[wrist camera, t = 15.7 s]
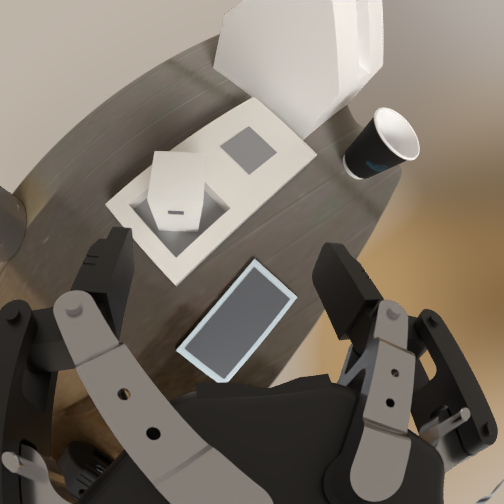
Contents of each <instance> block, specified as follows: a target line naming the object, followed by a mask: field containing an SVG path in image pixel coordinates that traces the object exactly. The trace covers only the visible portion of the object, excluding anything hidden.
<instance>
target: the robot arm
mask: <svg viewBox="0 0 504 504" xmlns="http://www.w3.org/2000/svg"><path fill="white" fill-rule="evenodd" d="M25 230H26V212H25V208H24V206H23V204H22V202H21V201H20V200H19V199H17V198H16V197H15V196H14V195H13V194H11V193H10V192H8V191H6V190H5V189H4V188H2V187H1V186H0V262H2V261H6V260H8V259H10V258H11V257H12V256H13V255H14V254H15V253H16V252H17V250H18V249H19V247H20V245H21V243H22V241H23V238H24V234H25ZM133 273H134V252H133V236H132V229H131V228H125V227H113V228H112V229H111V231H110V233H109V235H108V237H107V239H99V240H98V241H97V242H95V243H94V244H93V245H92V246H91V247H90V249H89V251H88V253H87V255H86V257H85V259H84V261H83V265H82V266H81V268H80V270H79V272H78V274H77V276H76V279H75V281H74V283H73V285H72V288H71V290H70V292H67V293H65V294H63V295H62V296H60V297H59V298H58V299H57V301H56V302H55V305H54V307H51V308H46V309H40V310H34V311H32V310H31V308H30V306H29V304H28V303H27V302H25V301H23V300H13V301H11V302H9V303H7V304H6V305H5V306H3V308H2V309H1V310H0V504H444V500H443V486H444V475H445V473H446V472H447V471H449V470H450V469H452V468H453V467H454V466H456V465H457V464H459V463H461V462H463V461H465V460H467V459H469V458H471V457H473V456H474V455H476V454H477V453H478V452H480V451H482V450H483V449H485V448H487V447H488V446H490V445H492V444H493V443H494V442H495V441H496V438H497V433H498V430H497V424H496V422H495V419H494V417H493V414H492V412H491V410H490V407H489V405H488V403H487V401H486V398H485V396H484V394H483V392H482V390H481V388H480V385H479V384H478V381H477V380H476V377H475V375H474V373H473V372H472V370H471V368H470V366H469V364H468V362H467V360H466V359H465V357H464V355H463V353H462V352H461V350H460V348H459V346H458V344H457V343H456V341H455V339H454V338H453V336H452V334H451V333H450V331H449V330H448V328H447V326H446V325H445V323H444V321H443V320H442V318H441V317H440V316H439V315H438V314H437V313H435V312H434V311H432V310H429V309H424V310H423V311H422V312H421V313H420V315H419V316H418V317H417V318H416V317H412V316H408V315H407V313H406V311H405V310H404V309H403V307H402V306H400V305H399V304H398V303H396V302H394V301H391V300H384V299H383V297H382V296H381V294H380V293H379V291H378V289H377V288H376V286H375V285H374V284H373V282H372V281H371V279H369V276H368V274H367V273H366V272H365V270H364V269H363V267H362V266H361V264H360V263H359V262H358V261H357V260H356V259H354V258H353V257H352V256H351V255H350V254H349V252H348V251H347V249H346V248H345V247H344V245H343V244H338V243H325V244H324V245H323V247H322V250H321V252H320V255H319V257H318V260H317V262H316V264H315V267H314V269H313V273H312V280H313V284H314V286H315V288H316V290H317V293H318V295H319V297H320V299H321V301H322V303H323V306H324V308H325V310H326V312H327V314H328V316H329V319H330V321H331V323H332V325H333V328H334V330H335V332H336V334H337V337H338V339H339V340H346V339H350V340H351V342H352V344H351V346H350V347H349V350H348V353H347V356H346V360H345V363H344V366H343V369H342V372H341V375H340V378H339V380H338V382H337V384H336V383H331V381H330V378H329V376H328V374H323V375H316V376H308V377H300V378H297V379H294V380H292V381H289V382H286V383H283V384H281V385H278V386H275V387H272V388H262V387H255V386H249V385H244V384H238V383H233V382H220V383H199V382H196V391H195V392H191V393H187V394H184V395H182V396H179V397H177V398H175V399H173V400H171V401H170V402H168V401H167V400H166V398H165V397H164V396H163V395H162V393H161V392H160V391H159V390H158V389H157V387H156V386H155V385H154V383H153V382H152V381H151V380H150V378H149V377H148V376H147V374H146V373H145V372H144V370H143V369H142V368H141V366H140V365H139V364H138V362H137V361H136V359H135V358H134V357H133V355H132V354H131V352H130V351H129V349H128V348H127V347H126V345H125V344H124V343H119V342H118V341H119V338H120V333H121V327H122V322H123V317H124V312H125V308H126V303H127V299H128V294H129V290H130V286H131V282H132V278H133ZM427 349H428V351H429V353H430V355H431V357H432V359H433V361H434V363H435V365H436V368H437V372H436V375H435V376H434V378H433V379H431V380H429V378H428V376H427V374H426V372H425V370H424V368H423V366H422V364H421V362H420V360H419V358H420V357H421V356H422V355H423V354H424V353H425V352H426V350H427ZM74 368H76V370H77V372H78V374H79V376H80V378H81V380H82V382H83V384H84V386H85V388H86V389H87V391H88V393H89V395H90V397H91V398H92V400H93V402H94V404H95V405H96V407H97V409H98V410H99V412H100V414H101V415H102V417H103V418H104V420H105V421H106V423H107V425H108V426H109V428H110V429H111V431H112V432H113V433H114V435H115V436H116V438H117V439H118V441H119V442H120V443H121V445H122V446H123V448H124V450H123V451H122V452H121V453H120V454H119V456H118V457H117V458H116V459H115V460H114V461H113V462H112V463H111V464H110V465H109V467H108V468H107V469H106V470H105V471H104V472H103V473H102V474H101V475H100V476H99V477H98V478H97V479H96V480H95V482H94V483H93V484H92V485H91V486H90V487H89V488H88V489H87V490H86V491H85V492H84V493H83V494H82V495H81V496H80V498H79V499H78V501H77V500H76V499H75V498H74V497H73V496H72V495H71V494H70V492H69V491H68V489H67V487H66V484H65V480H64V476H63V473H62V471H61V469H60V467H59V466H58V465H57V463H56V462H55V461H54V460H52V459H51V458H50V437H51V422H52V412H53V403H54V395H55V388H56V381H57V375H58V371H60V370H67V369H74ZM410 411H411V414H412V417H413V419H414V422H415V425H416V427H417V430H418V433H419V436H418V435H416V434H415V433H413V432H412V431H411V430H409V429H408V423H409V417H410Z"/></svg>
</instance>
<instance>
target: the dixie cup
mask: <svg viewBox="0 0 504 504" xmlns="http://www.w3.org/2000/svg"><path fill="white" fill-rule="evenodd" d="M419 151H420V147H419V141H418V138H417V136H416V134H415V132H414V130H413V128H412V127H411V125H410V124H409V123H408V122H407V121H406V119H405V118H403V117H402V116H401V115H400V114H399V113H397V112H396V111H394V110H392V109H389V108H379V109H377V110H376V112H375V114H374V117H373V118H372V120H371V121H370V122H369V123H368V125H367V126H366V127H365V128H364V130H363V131H362V132H361V133H360V134H359V136H358V137H357V138H356V139H355V141H354V142H353V143H352V144H351V146H350V147H349V148H348V149H347V150H346V152H345V155H344V157H343V165H344V168H345V170H346V171H347V173H348V174H349V175H350V176H352V177H353V178H355V179H366V178H369V177H371V176H373V175H376V174H378V173H380V172H382V171H384V170H387V169H389V168H391V167H393V166H396V165H398V164H400V163H402V162H404V161H407V160H414V159H415V158H417V156H418V155H419Z"/></svg>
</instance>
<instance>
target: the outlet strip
mask: <svg viewBox="0 0 504 504" xmlns="http://www.w3.org/2000/svg"><path fill="white" fill-rule="evenodd" d="M170 152H190V153H205V154H207V159H206V171H205V184H204V199H203V207H202V212H201V218H200V223H199V229H198V232H182V231H159V229H158V227H157V224H156V222H155V219H154V217H153V214H152V212H151V209H150V207H149V204H148V201H147V197H148V190H149V183H150V176H151V170H152V165H151V166H149V167H148V168H147V169H146V170H144V171H143V172H142V173H141V174H140V175H138V176H137V177H136V178H135V179H133V180H132V181H131V182H130V183H129V184H128V185H126V186H125V187H124V188H123V189H122V190H121V191H119V192H118V193H117V194H116V195H115V196H114V197H113V198H112V199H110V200H109V201H108V202H107V203H106V204H105V205H106V206H107V207H108V208H109V210H110V211H111V212H112V213H113V215H114V216H115V217H116V218H117V220H118V221H119V222H120V223H121V224H122V226H123V227H125V228H131V229H132V236H133V239H134V240H135V241H136V242H137V243H138V245H139V246H140V247H141V248H142V249H143V250H144V251H145V253H146V254H147V255H148V256H149V257H150V258H151V259H152V260H153V262H154V263H155V264H156V265H157V266H158V267H159V268H160V269H161V270H162V271H163V273H164V274H165V275H166V276H167V277H168V278H169V279H170V280H171V281H172V282H173V283H174V284H175V285H176V286H178V285H179V284H180V283H181V282H182V281H183V280H184V279H185V278H186V277H187V276H188V275H189V274H190V273H191V272H192V271H193V270H194V269H195V268H196V267H197V266H198V265H199V264H200V263H201V262H202V261H204V260H205V259H206V258H207V257H208V256H209V255H210V254H211V253H212V252H213V251H214V250H215V249H216V248H217V247H218V246H219V245H220V244H221V243H222V242H224V241H225V240H226V239H227V238H228V237H229V236H230V235H231V234H232V233H233V232H234V231H235V230H236V229H237V228H238V227H240V226H241V225H242V224H243V223H244V222H245V221H246V220H247V219H248V218H249V217H250V216H251V215H253V214H254V213H255V212H256V211H257V210H258V209H259V208H260V207H261V206H262V205H263V204H265V203H266V202H267V201H268V200H269V199H270V198H271V197H272V196H273V195H274V194H276V193H277V192H278V191H279V190H280V189H281V188H282V187H283V186H284V185H285V184H287V183H288V182H289V181H290V180H291V179H292V178H293V177H294V176H296V175H297V174H298V173H299V172H300V171H301V170H302V169H303V168H305V167H306V166H307V165H308V164H309V163H310V162H311V161H312V160H313V159H314V158H315V156H316V155H317V154H316V153H315V152H314V151H313V150H312V149H311V148H310V147H309V146H308V145H307V144H306V143H305V142H304V141H303V140H302V139H301V138H300V137H299V136H297V135H296V134H295V133H294V132H293V131H292V130H291V129H290V128H289V127H288V126H287V125H286V124H285V123H284V122H283V121H281V120H280V119H279V118H278V117H277V116H276V115H275V114H274V113H273V112H271V111H270V110H269V109H268V108H267V107H266V106H264V105H263V104H262V103H261V102H260V101H259V100H257V99H256V98H255V97H252V98H250V99H249V100H247V101H245V102H243V103H242V104H240V105H238V106H237V107H235V108H233V109H232V110H230V111H228V112H227V113H225V114H223V115H222V116H220V117H219V118H217V119H215V120H214V121H212V122H211V123H209V124H208V125H206V126H205V127H203V128H202V129H200V130H199V131H197V132H196V133H194V134H193V135H191V136H190V137H188V138H187V139H186V140H184V141H183V142H181V143H180V144H179V145H177V146H176V147H174V148H173V149H172V150H170Z"/></svg>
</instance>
